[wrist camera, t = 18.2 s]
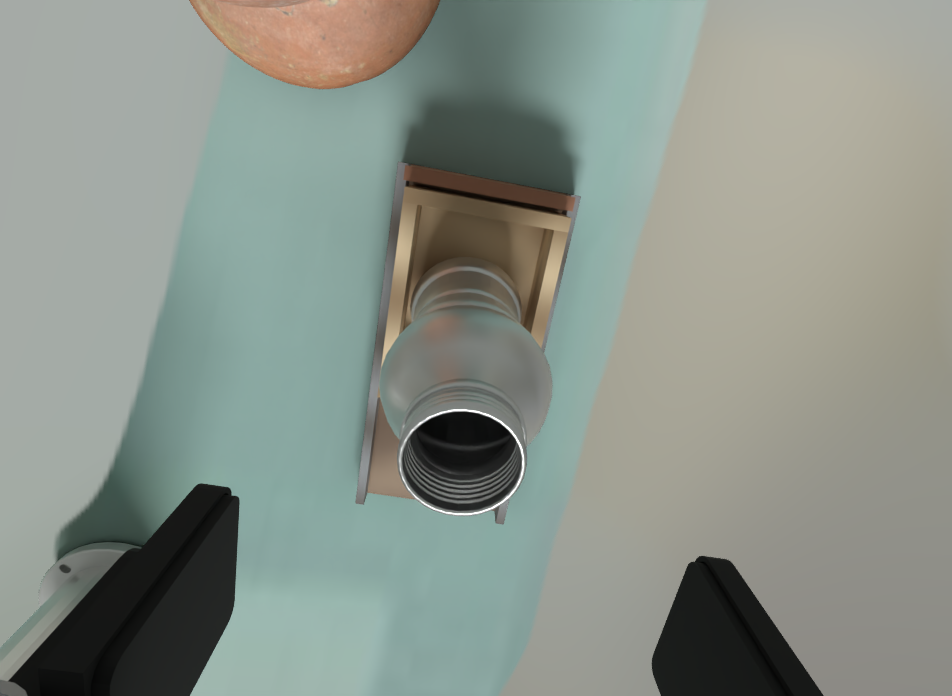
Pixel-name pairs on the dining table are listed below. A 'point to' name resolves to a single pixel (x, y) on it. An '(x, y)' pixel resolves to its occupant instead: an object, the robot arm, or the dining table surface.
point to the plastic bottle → (464, 389)
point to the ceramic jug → (318, 36)
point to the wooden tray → (378, 435)
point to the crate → (477, 250)
